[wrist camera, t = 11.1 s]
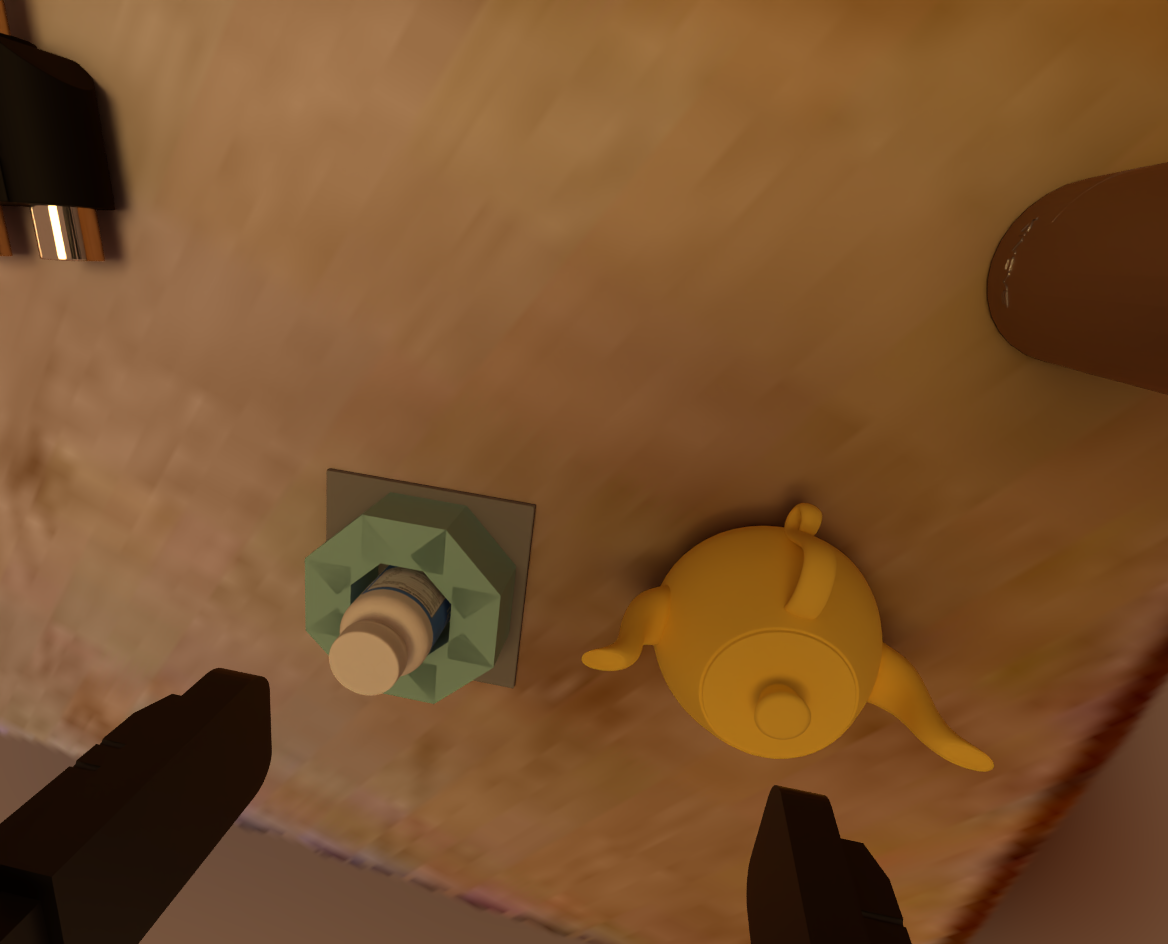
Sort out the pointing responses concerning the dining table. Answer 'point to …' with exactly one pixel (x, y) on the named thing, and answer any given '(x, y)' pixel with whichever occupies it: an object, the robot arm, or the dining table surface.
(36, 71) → the audio adapter
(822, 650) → the teapot
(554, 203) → the dining table surface
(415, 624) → the pill bottle
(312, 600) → the green faceted planter
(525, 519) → the felt mat
